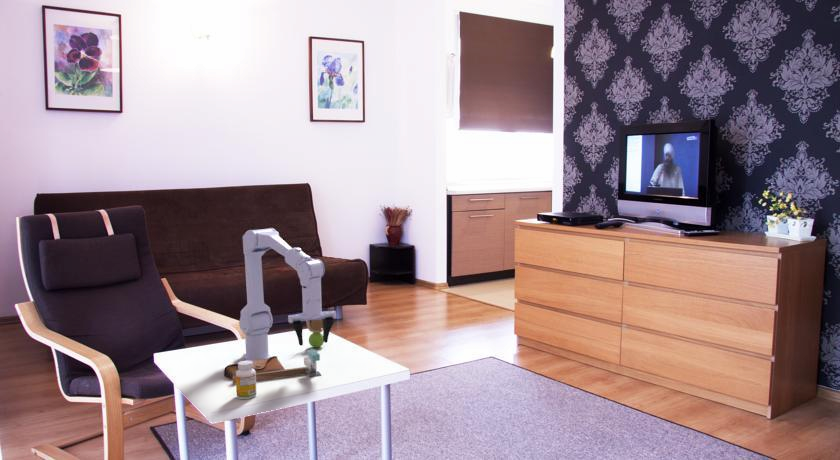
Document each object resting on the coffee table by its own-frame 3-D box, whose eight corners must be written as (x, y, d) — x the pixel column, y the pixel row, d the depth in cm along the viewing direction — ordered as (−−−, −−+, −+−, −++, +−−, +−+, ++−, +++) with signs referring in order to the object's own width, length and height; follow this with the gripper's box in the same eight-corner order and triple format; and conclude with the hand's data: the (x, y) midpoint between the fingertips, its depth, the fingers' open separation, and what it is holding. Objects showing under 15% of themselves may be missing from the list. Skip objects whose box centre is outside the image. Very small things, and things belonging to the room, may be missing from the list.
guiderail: (232, 382, 198) (232, 376, 198) (305, 373, 207) (305, 366, 207) (233, 384, 197) (233, 377, 197) (306, 374, 206) (306, 367, 206)
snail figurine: (306, 345, 238) (305, 312, 237) (324, 345, 239) (323, 312, 238) (305, 349, 233) (304, 316, 232) (324, 349, 234) (323, 315, 233)
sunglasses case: (234, 382, 198) (229, 361, 200) (227, 389, 203) (222, 368, 205) (289, 370, 209) (283, 350, 212) (280, 377, 214) (275, 357, 217)
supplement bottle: (238, 393, 189) (237, 360, 188) (257, 392, 190) (256, 359, 189) (235, 400, 184) (233, 365, 183) (254, 399, 184) (253, 365, 183)
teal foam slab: (303, 364, 213) (302, 345, 213) (310, 364, 214) (309, 344, 214) (313, 376, 202) (312, 355, 201) (320, 375, 203) (319, 354, 202)
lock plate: (306, 373, 206) (306, 372, 206) (318, 372, 208) (318, 371, 208) (309, 377, 203) (309, 376, 203) (321, 375, 204) (321, 374, 204)
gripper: (291, 304, 197) (292, 349, 198) (338, 299, 202) (339, 343, 204) (286, 299, 203) (287, 343, 204) (332, 295, 209) (333, 338, 210)
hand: (313, 343), depth 204 cm, fingers open, 7 cm apart
